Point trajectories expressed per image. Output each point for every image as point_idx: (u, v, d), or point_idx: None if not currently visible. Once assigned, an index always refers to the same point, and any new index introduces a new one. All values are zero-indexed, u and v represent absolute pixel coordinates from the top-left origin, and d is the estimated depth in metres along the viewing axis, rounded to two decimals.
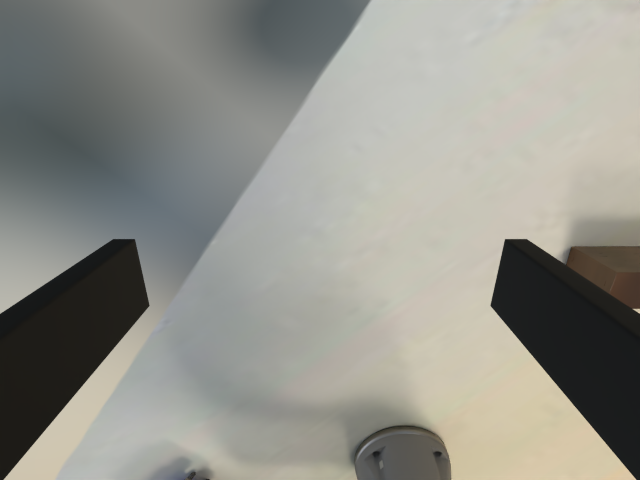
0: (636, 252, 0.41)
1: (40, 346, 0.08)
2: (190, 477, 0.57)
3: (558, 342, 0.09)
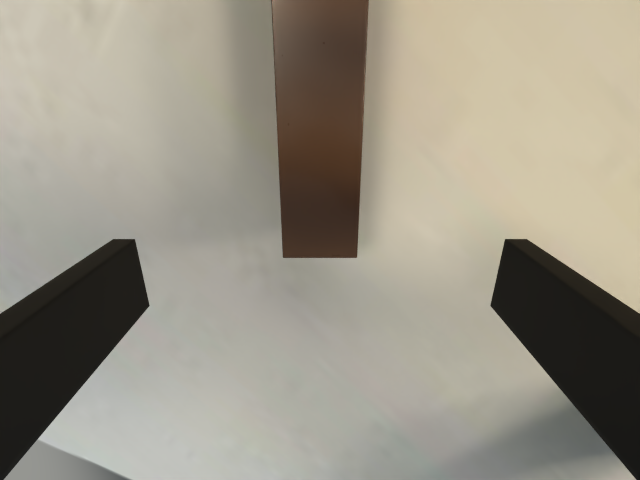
0: None
1: (40, 346, 0.08)
2: None
3: (558, 342, 0.09)
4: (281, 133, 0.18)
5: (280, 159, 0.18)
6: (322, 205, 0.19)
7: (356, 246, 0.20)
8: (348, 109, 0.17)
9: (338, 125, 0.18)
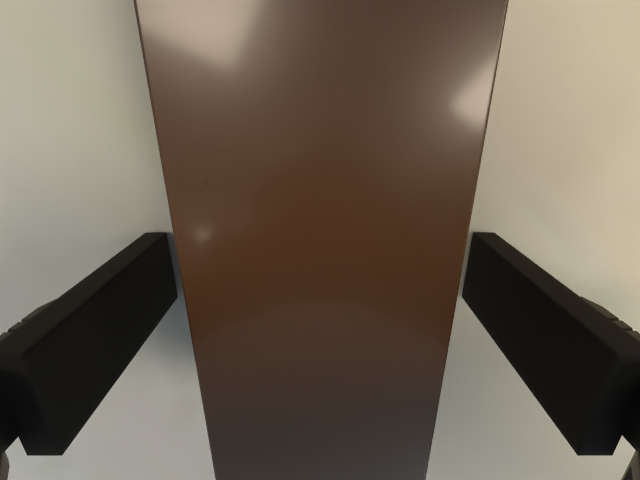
0: None
1: (93, 329, 0.08)
2: None
3: (514, 328, 0.10)
4: (183, 213, 0.05)
5: (188, 293, 0.06)
6: (326, 410, 0.06)
7: None
8: (429, 130, 0.05)
9: (388, 187, 0.05)
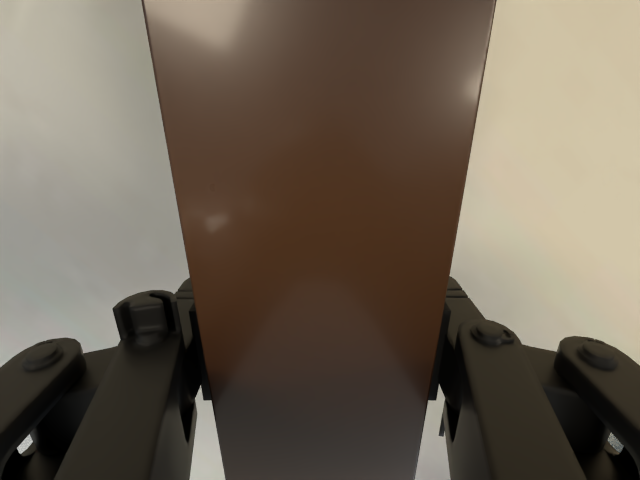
0: None
1: None
2: None
3: None
4: (191, 215, 0.05)
5: (196, 289, 0.06)
6: (325, 396, 0.07)
7: (412, 476, 0.08)
8: (419, 139, 0.05)
9: (382, 192, 0.05)
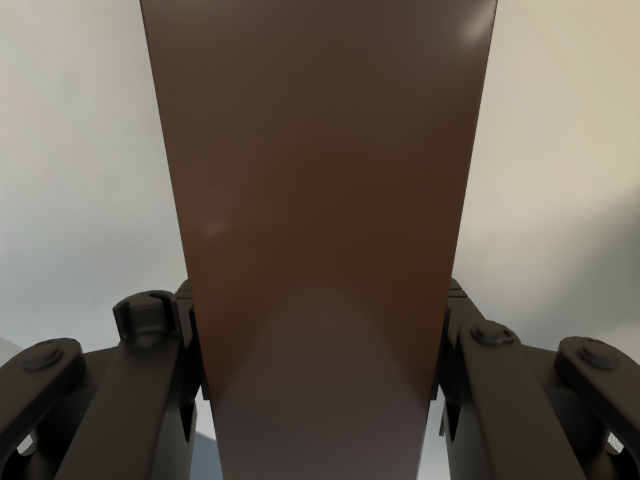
0: None
1: None
2: None
3: None
4: (189, 213, 0.05)
5: (194, 288, 0.06)
6: (325, 398, 0.07)
7: None
8: (421, 134, 0.05)
9: (383, 189, 0.05)
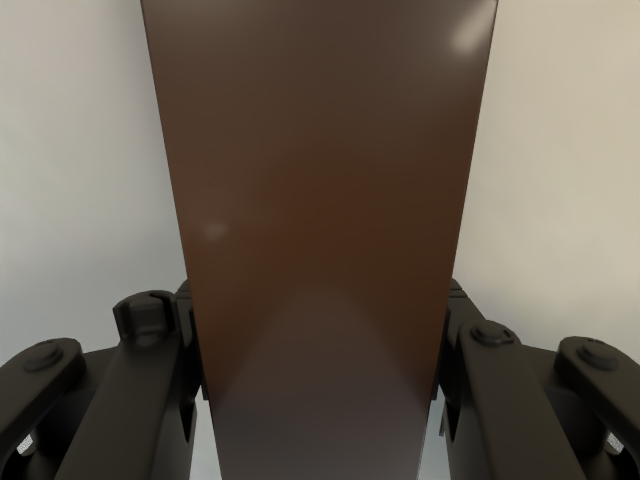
0: None
1: None
2: None
3: None
4: (188, 211, 0.05)
5: (193, 287, 0.06)
6: (325, 398, 0.07)
7: None
8: (421, 133, 0.05)
9: (383, 187, 0.05)
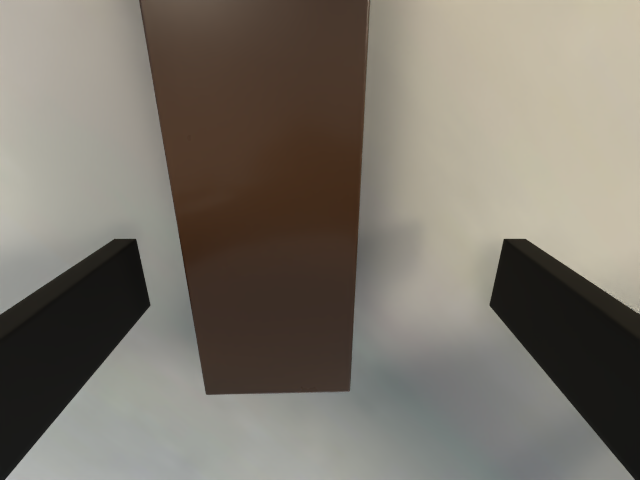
0: None
1: (42, 346, 0.08)
2: None
3: (556, 342, 0.09)
4: (175, 158, 0.08)
5: (179, 215, 0.08)
6: (277, 303, 0.09)
7: (348, 373, 0.10)
8: (328, 104, 0.07)
9: (306, 141, 0.08)
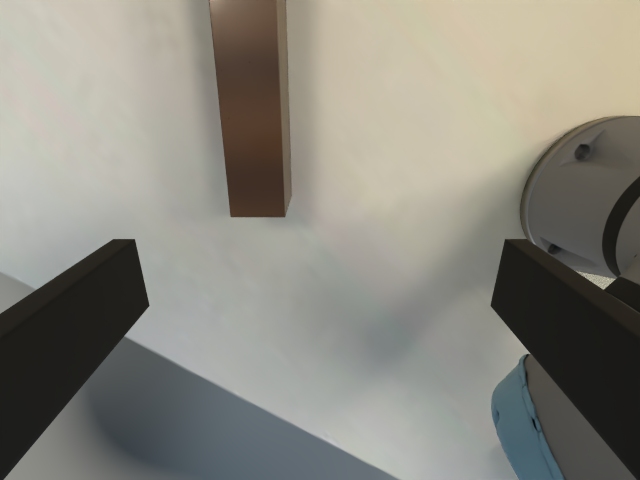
0: None
1: (41, 346, 0.08)
2: None
3: (558, 342, 0.09)
4: (224, 124, 0.25)
5: (224, 143, 0.26)
6: (256, 177, 0.27)
7: (283, 208, 0.28)
8: (270, 108, 0.25)
9: (264, 119, 0.25)
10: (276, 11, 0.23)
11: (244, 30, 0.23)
